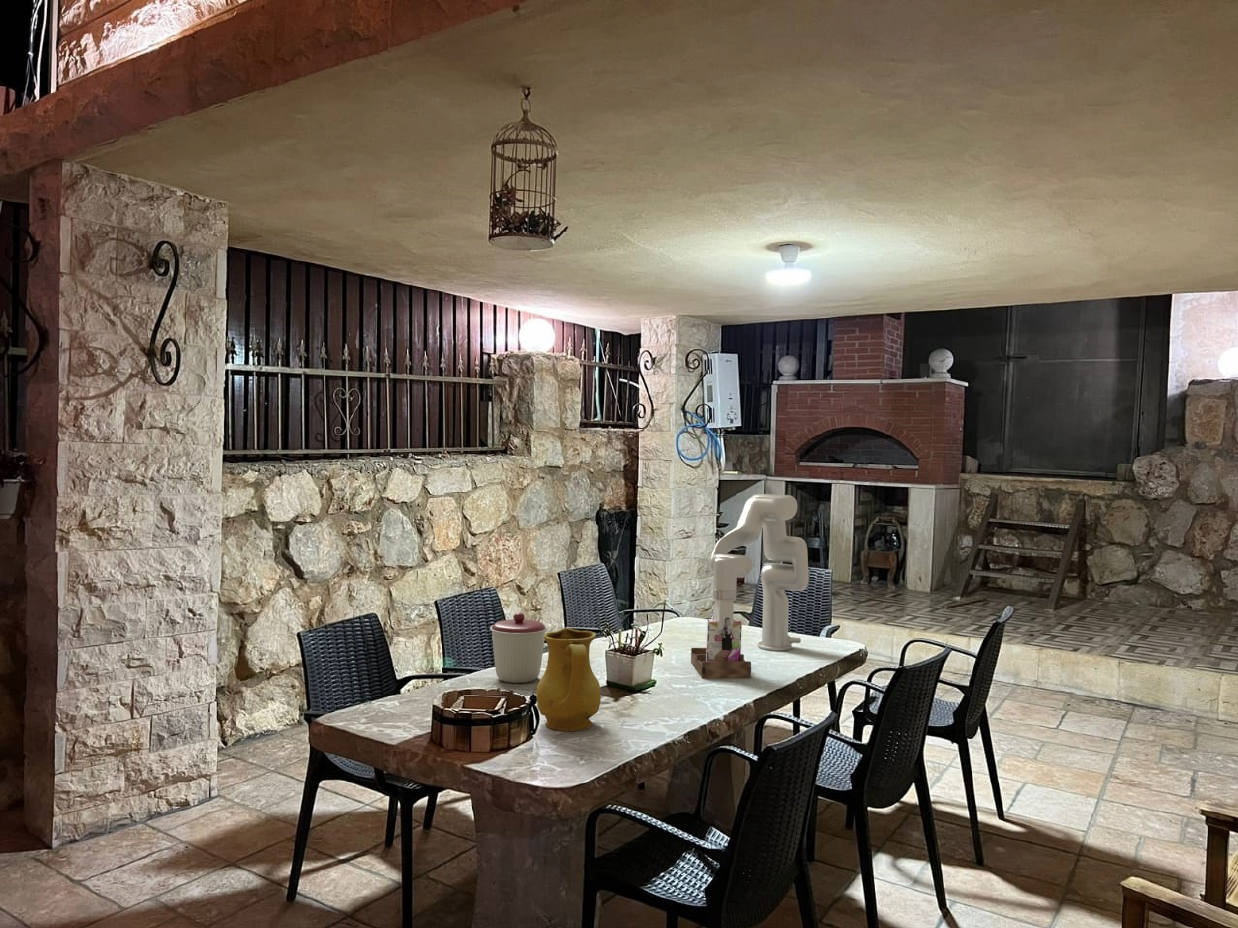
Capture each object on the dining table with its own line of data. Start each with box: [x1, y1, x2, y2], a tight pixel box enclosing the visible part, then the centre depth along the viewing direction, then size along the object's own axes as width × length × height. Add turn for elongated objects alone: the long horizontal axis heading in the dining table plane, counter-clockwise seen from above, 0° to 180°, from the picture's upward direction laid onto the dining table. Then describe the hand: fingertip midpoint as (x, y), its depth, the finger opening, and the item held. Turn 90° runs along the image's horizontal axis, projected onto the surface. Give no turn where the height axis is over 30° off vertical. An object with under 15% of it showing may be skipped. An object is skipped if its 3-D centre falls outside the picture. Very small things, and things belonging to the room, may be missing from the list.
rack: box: [690, 647, 752, 679], centre depth 296 cm, size 16×21×5 cm
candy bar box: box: [706, 618, 743, 661], centre depth 291 cm, size 11×5×16 cm, turn 87°
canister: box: [489, 612, 548, 684], centre depth 279 cm, size 18×18×21 cm
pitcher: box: [535, 627, 602, 732], centre depth 234 cm, size 17×19×25 cm
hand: (723, 646), depth 291 cm, fingers open, 9 cm apart
